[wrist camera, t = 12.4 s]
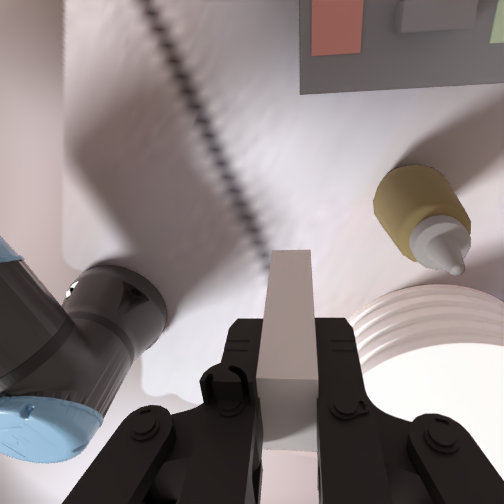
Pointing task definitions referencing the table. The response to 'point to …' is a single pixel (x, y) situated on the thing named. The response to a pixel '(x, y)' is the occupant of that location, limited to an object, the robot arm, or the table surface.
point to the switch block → (399, 44)
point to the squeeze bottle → (424, 217)
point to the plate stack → (437, 358)
